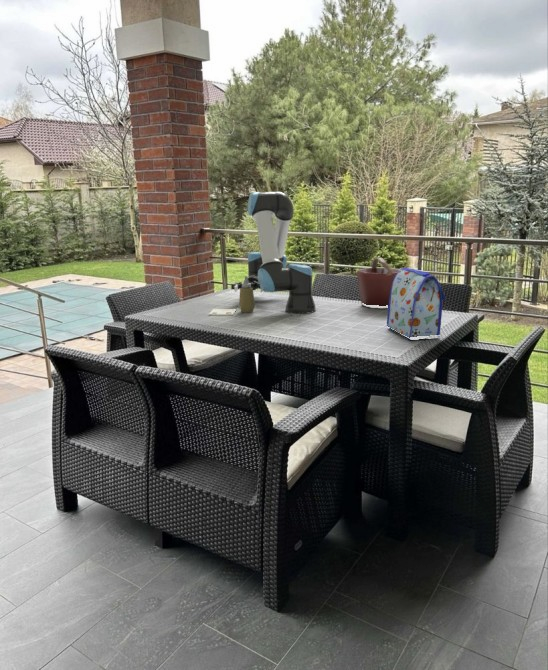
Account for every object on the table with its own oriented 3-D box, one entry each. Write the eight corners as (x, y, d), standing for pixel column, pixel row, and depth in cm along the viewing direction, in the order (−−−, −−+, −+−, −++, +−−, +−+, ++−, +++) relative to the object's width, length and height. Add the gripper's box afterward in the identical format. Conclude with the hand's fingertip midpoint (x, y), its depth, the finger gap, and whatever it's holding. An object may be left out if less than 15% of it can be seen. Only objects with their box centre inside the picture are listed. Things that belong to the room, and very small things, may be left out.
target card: (236, 310, 274) (236, 308, 273) (232, 315, 262) (232, 313, 262) (213, 310, 274) (213, 308, 274) (208, 315, 263) (208, 313, 263)
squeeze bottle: (241, 313, 265) (239, 278, 260) (237, 310, 272) (236, 275, 268) (256, 312, 267) (255, 277, 262) (253, 309, 275) (252, 274, 270)
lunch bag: (447, 338, 215) (451, 272, 208) (410, 342, 211) (413, 275, 204) (417, 326, 236) (420, 265, 229) (383, 329, 232) (386, 267, 225)
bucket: (400, 311, 266) (403, 261, 259) (356, 310, 269) (357, 260, 263) (397, 301, 289) (399, 255, 283) (356, 301, 293) (357, 255, 286)
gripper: (275, 289, 296) (272, 296, 275) (231, 289, 298) (224, 296, 277) (275, 275, 294) (272, 282, 273) (230, 276, 296) (224, 282, 275)
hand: (248, 289), depth 275 cm, fingers open, 13 cm apart
